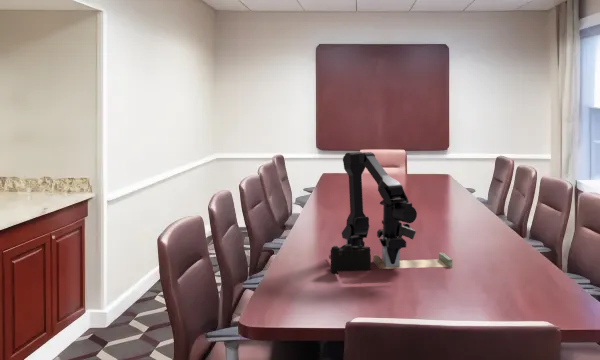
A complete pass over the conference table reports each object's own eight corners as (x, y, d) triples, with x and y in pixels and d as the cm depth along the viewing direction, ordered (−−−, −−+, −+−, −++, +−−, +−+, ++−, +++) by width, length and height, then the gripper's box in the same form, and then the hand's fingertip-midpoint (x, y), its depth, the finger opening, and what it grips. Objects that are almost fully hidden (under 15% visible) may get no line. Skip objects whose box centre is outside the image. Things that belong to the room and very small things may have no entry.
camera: (366, 265, 201) (367, 238, 200) (371, 274, 191) (372, 245, 189) (328, 266, 201) (328, 239, 199) (331, 274, 190) (331, 246, 189)
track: (379, 271, 193) (379, 261, 193) (373, 263, 203) (373, 254, 203) (452, 269, 195) (452, 259, 195) (442, 261, 205) (442, 252, 205)
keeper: (385, 266, 195) (385, 247, 195) (382, 262, 201) (382, 243, 200) (399, 266, 196) (399, 246, 195) (395, 262, 201) (396, 243, 201)
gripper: (421, 223, 188) (420, 268, 190) (406, 213, 206) (406, 254, 208) (389, 223, 187) (388, 269, 189) (377, 214, 205) (376, 255, 207)
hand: (390, 261), depth 198 cm, fingers closed on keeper, 5 cm apart
